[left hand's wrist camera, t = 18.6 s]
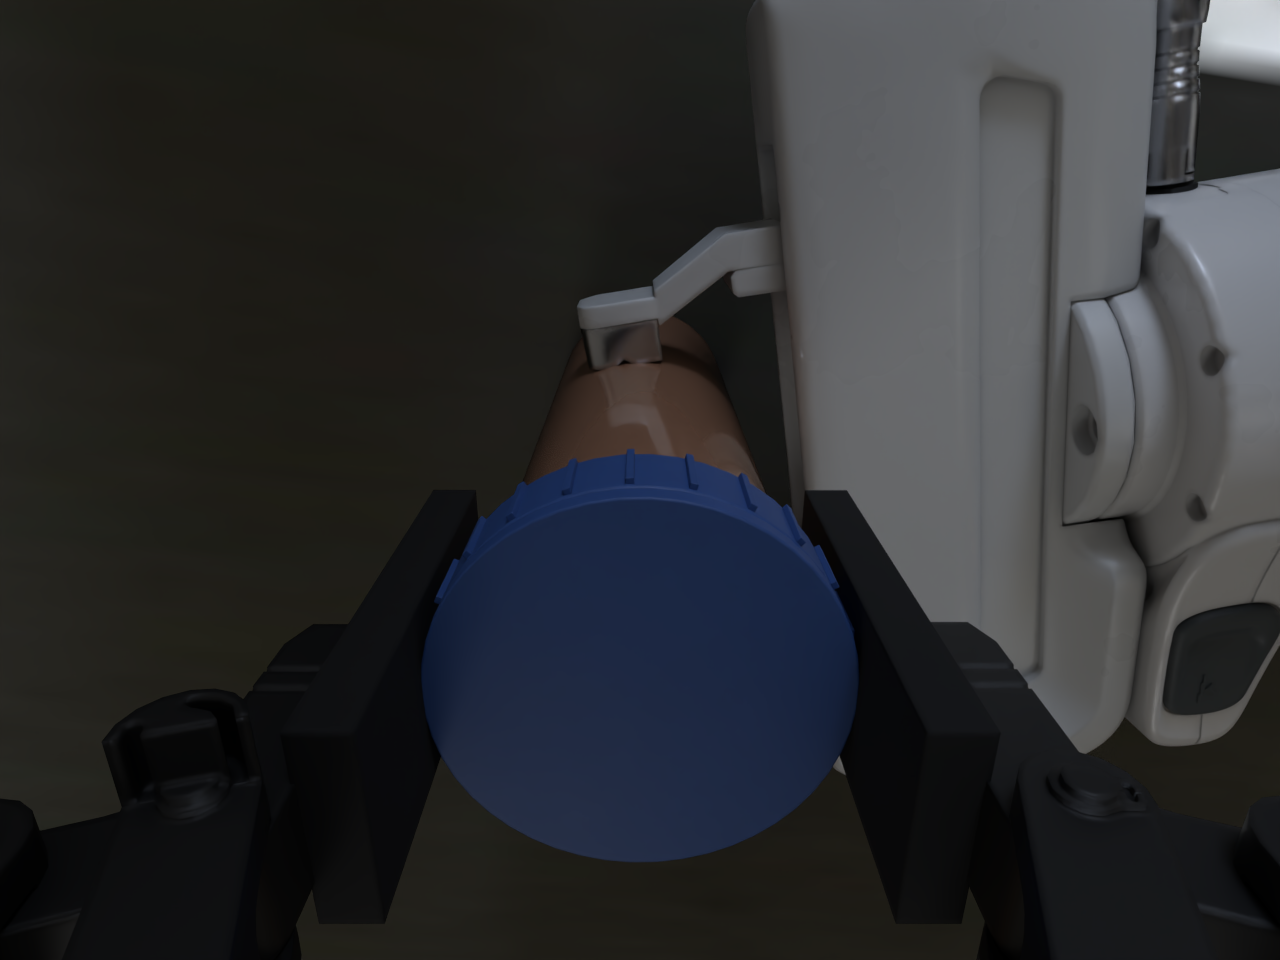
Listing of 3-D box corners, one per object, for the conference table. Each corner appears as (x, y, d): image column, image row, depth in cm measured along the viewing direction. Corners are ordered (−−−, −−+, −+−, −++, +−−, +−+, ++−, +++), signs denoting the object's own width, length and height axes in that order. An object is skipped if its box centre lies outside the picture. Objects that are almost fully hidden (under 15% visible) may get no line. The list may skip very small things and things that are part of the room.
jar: (565, 462, 27) (478, 804, 12) (560, 309, 25) (451, 504, 10) (717, 463, 27) (804, 806, 12) (723, 310, 25) (836, 507, 10)
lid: (920, 580, 12) (960, 641, 10) (692, 839, 14) (699, 923, 12) (573, 366, 11) (563, 400, 9) (377, 681, 13) (340, 753, 11)
